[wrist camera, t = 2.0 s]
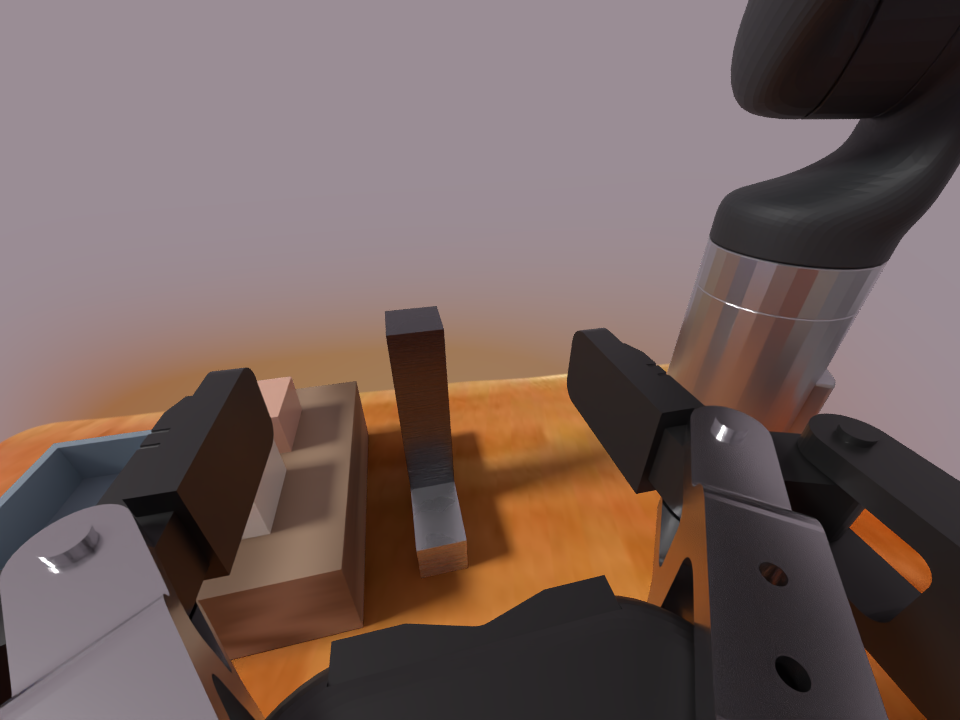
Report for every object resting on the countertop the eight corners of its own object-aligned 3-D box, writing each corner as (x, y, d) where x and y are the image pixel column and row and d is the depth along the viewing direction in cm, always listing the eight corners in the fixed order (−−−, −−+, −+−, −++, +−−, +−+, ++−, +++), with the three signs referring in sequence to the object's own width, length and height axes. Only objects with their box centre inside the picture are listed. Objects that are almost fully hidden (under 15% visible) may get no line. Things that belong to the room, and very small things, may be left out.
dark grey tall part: (441, 438, 34) (428, 279, 26) (468, 567, 25) (458, 376, 17) (408, 444, 34) (383, 283, 26) (421, 578, 24) (387, 386, 16)
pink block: (302, 409, 29) (291, 376, 27) (291, 451, 25) (277, 416, 23) (238, 418, 28) (222, 385, 26) (217, 463, 24) (198, 428, 23)
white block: (286, 470, 24) (271, 434, 22) (270, 533, 20) (251, 496, 18) (208, 483, 23) (187, 447, 21) (176, 552, 19) (148, 514, 18)
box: (220, 458, 33) (201, 422, 31) (114, 688, 20) (67, 654, 17) (83, 479, 31) (53, 443, 29) (-135, 749, 18) (-221, 720, 16)
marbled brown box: (368, 434, 35) (356, 381, 32) (362, 627, 22) (341, 569, 19) (224, 457, 33) (195, 402, 30) (121, 686, 20) (48, 632, 16)
